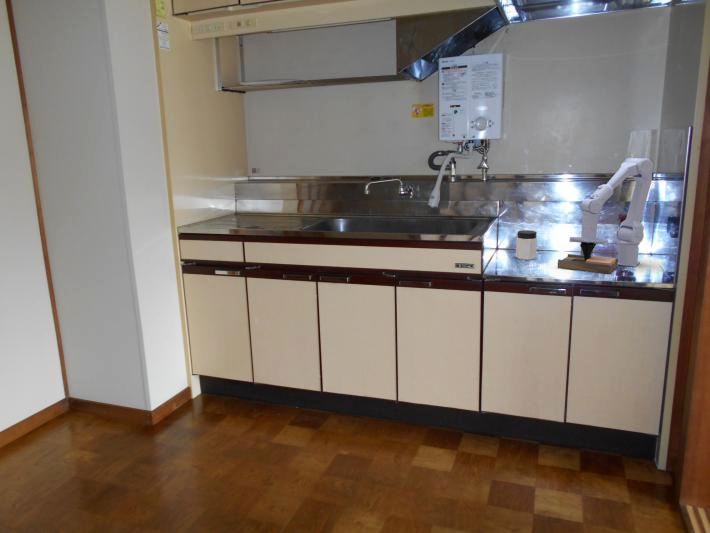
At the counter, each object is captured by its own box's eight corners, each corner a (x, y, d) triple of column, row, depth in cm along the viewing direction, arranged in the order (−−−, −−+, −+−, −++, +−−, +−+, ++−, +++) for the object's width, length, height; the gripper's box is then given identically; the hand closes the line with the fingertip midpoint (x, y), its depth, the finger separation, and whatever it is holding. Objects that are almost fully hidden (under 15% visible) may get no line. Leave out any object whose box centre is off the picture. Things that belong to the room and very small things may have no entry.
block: (582, 259, 244) (583, 246, 242) (592, 260, 241) (593, 247, 240) (580, 261, 240) (581, 247, 239) (589, 262, 238) (590, 248, 237)
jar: (525, 255, 255) (526, 229, 252) (539, 258, 248) (541, 231, 245) (511, 257, 250) (513, 231, 247) (526, 260, 243) (527, 234, 241)
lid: (592, 259, 232) (593, 255, 231) (615, 261, 226) (616, 258, 226) (585, 264, 223) (585, 260, 223) (609, 266, 218) (609, 263, 218)
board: (567, 261, 240) (568, 253, 239) (617, 267, 228) (618, 259, 227) (557, 268, 229) (558, 259, 228) (608, 274, 217) (609, 265, 216)
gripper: (568, 228, 226) (565, 260, 229) (605, 230, 217) (602, 264, 221) (573, 225, 232) (571, 257, 235) (610, 228, 223) (607, 261, 226)
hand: (586, 260), depth 228 cm, fingers closed
